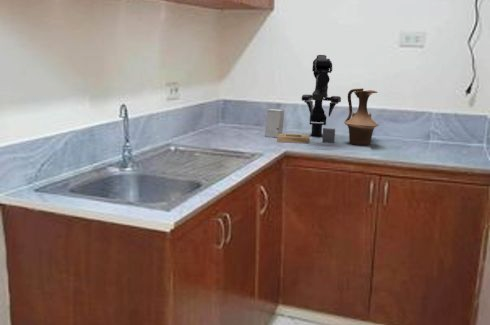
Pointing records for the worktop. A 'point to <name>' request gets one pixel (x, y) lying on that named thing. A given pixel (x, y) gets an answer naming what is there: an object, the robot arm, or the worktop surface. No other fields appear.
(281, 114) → the skincare box
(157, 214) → the worktop surface
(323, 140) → the dark grey rectangular prism
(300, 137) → the post socket
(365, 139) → the pitcher
